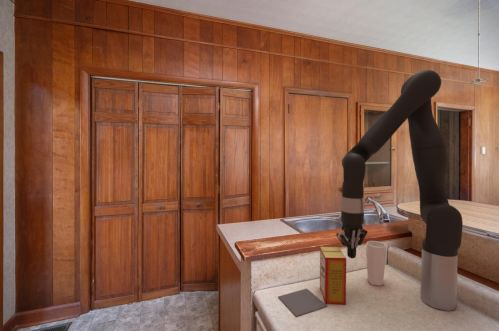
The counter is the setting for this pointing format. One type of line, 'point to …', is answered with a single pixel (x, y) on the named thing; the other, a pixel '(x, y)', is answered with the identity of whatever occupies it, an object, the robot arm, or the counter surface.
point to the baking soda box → (333, 275)
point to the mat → (302, 302)
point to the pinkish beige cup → (375, 262)
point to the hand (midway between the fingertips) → (351, 257)
